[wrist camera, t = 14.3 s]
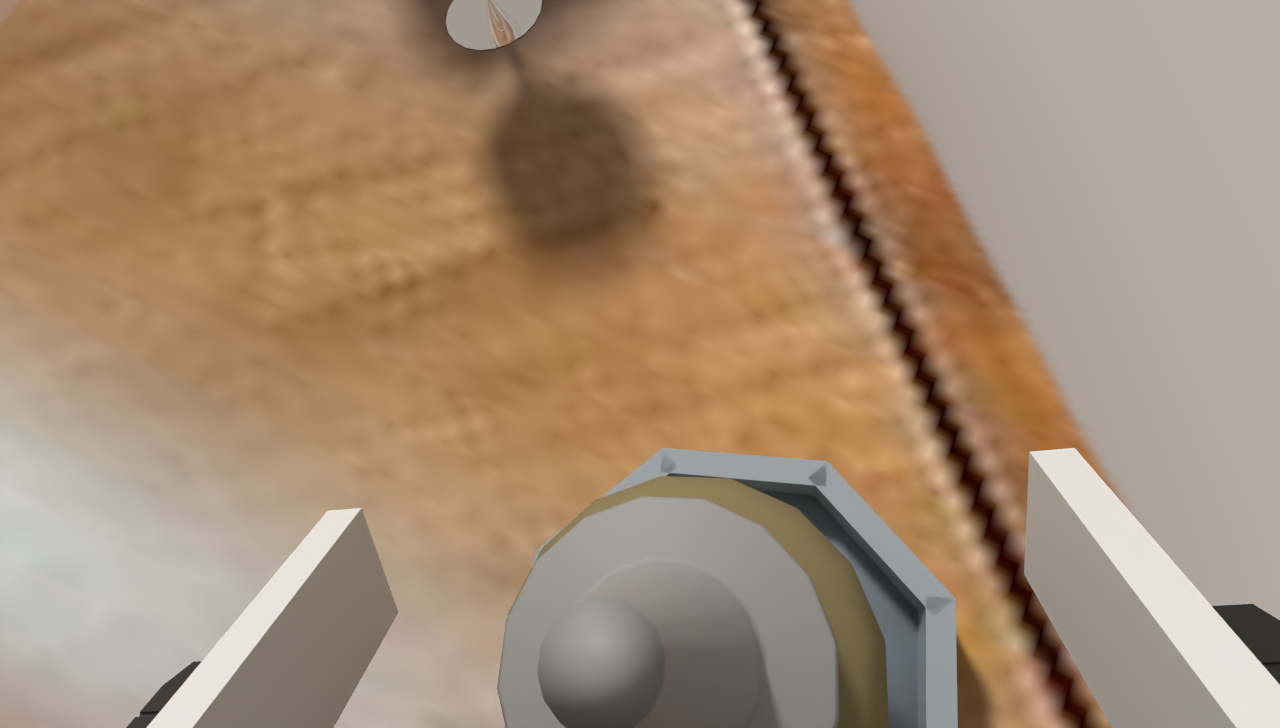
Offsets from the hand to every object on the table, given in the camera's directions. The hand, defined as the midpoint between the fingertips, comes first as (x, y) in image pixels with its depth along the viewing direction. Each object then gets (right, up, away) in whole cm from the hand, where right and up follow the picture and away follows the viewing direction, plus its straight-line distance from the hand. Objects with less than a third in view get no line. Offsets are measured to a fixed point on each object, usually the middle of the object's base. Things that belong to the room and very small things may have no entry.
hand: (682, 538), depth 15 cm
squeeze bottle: (+2, -6, +8) cm, 10 cm away
